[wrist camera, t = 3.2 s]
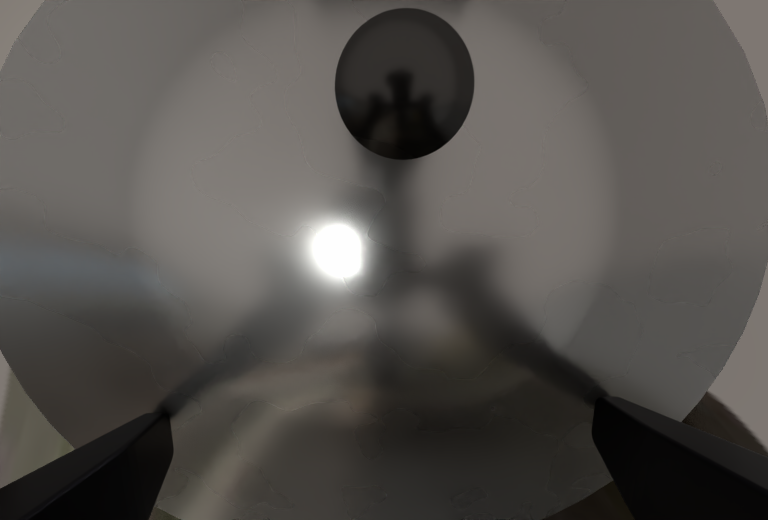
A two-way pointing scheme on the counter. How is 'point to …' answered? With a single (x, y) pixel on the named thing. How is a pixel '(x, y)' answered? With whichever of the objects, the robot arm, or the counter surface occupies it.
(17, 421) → the counter surface
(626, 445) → the robot arm
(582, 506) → the counter surface
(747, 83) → the cooker lid
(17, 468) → the counter surface
